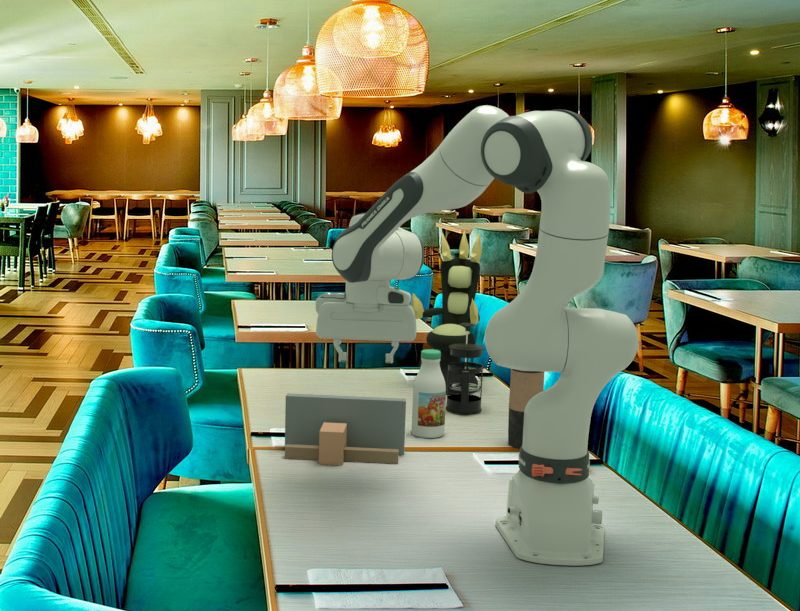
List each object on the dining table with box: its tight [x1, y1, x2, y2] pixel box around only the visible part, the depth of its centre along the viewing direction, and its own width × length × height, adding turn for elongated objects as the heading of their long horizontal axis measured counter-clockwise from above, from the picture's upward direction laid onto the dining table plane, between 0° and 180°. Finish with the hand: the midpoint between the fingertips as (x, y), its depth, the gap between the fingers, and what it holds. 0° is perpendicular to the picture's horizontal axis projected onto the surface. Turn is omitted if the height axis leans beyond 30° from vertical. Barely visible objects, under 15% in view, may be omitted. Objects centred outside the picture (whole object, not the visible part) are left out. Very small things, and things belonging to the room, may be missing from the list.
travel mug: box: [507, 368, 545, 449], centre depth 207 cm, size 8×8×20 cm
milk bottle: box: [411, 348, 447, 439], centre depth 212 cm, size 8×8×20 cm
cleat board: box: [284, 393, 407, 464], centre depth 195 cm, size 8×26×12 cm, turn 88°
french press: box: [445, 323, 485, 416], centre depth 235 cm, size 12×9×23 cm
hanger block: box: [318, 422, 347, 466], centre depth 192 cm, size 7×5×7 cm
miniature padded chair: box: [410, 229, 483, 395], centre depth 259 cm, size 19×22×45 cm
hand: (365, 362), depth 183 cm, fingers open, 8 cm apart
